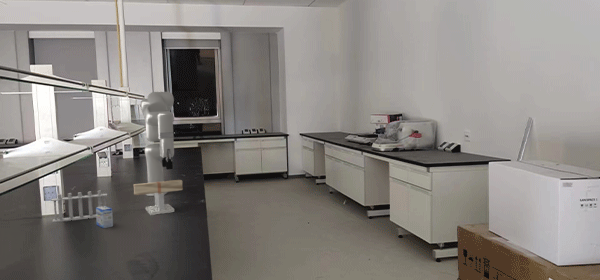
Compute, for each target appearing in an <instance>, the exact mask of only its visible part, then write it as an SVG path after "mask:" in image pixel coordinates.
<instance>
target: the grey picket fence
mask: <svg viewBox="0 0 600 280" xmlns="http://www.w3.org/2000/svg"><path fill="white" fill-rule="evenodd" d="M72 195H73V194H72V192H69V193H67V196H66V197H62V193H58V194H57V197H55V198H51V199H50V202H53V208H54V209H53V210H54V218H53V219H52V221H51V223H52V224H53V223H60V222H61V223H62V222H70V221H71V220H72V221H79V220H80V221H81V220H88V218H89V219H96V214H94V210H93V208H94V207H93V198H97V203H98V204H97V207H101V206H106V207H107V204H106V203H107V201H106V200H107V199H106V197H107V196H108V193H102V190H97V194H93V193H92V191H87V195H83V194H82V192H81V191H79V192H77V195H76V196H72ZM102 198H103V199H102ZM76 199H77V201H78V202H77V203H78V214H79V215H78V216H74V210H73V208H74V207H73V200H76ZM83 199H87V201H88V203H87V204H88V215H84V210H83V209H84V207H83V206H84V205H83ZM65 200H66V201H67V203H68V204H67V205H68V217H64V211H63V201H65ZM102 200H103V202H102ZM57 204H58V205H57ZM57 207H58V211H57ZM57 212H58V213H57ZM57 214H58V215H57Z"/></svg>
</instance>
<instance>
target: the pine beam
mask: <svg viewBox="0 0 600 280" xmlns="http://www.w3.org/2000/svg"><path fill="white" fill-rule="evenodd" d="M183 189H184V188H183V180H182V179H174V180H166V181H165V180H164V181H163V182H153V183H148V182H146V183H135V184H134V183H133V195H134V196H140V195H141V196H142V195H143V196H144V195H146V194H152V193H161V192H167V193H169V192H178V191H183Z"/></svg>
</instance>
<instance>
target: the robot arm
mask: <svg viewBox="0 0 600 280" xmlns="http://www.w3.org/2000/svg"><path fill="white" fill-rule="evenodd" d="M174 101H175V98H174V95H173V94H172V92H170V91H153V92H150V93H149V94H148V96H147V98H144V99H141V100H140V105H139V106H140V110H141V113H142V115H143V117H144V120H145V121H144V123H145V136H146V140H147V142H151V144H150V143H149V144H147V145H146V146H145V147H144V155H145V161H146V173H147V175H146V176H147V183H153V182H163V181H165V180H164V177H165V176H164V168H165V169H166V170H173V168H174V166H173V163H174V162H173V157H174V155H175V146H174V145H175V144H174V143H175V142H174V123H173V122H174V121H175V116H174V113H172V112H171V109H172V108H173V106H174V104H175V103H174ZM157 142H159V143H157ZM159 160H161V161H159ZM162 193H164V196H165V195H166V194H168V192H162ZM145 196H147V197H155V194H154V193H152V194H145Z"/></svg>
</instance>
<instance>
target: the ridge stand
mask: <svg viewBox="0 0 600 280" xmlns="http://www.w3.org/2000/svg"><path fill="white" fill-rule="evenodd" d="M154 194H155V196H154V205H149V206H145V210H146V212H147V214H149V215H150V216H155V215H160V214H169V213H174V212H175V208H174V207H173V206H172V205H170V204H169V203H165V195H164V193H162V192H161V193H154Z"/></svg>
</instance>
